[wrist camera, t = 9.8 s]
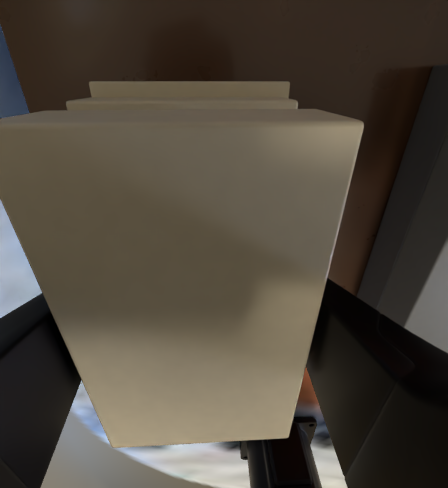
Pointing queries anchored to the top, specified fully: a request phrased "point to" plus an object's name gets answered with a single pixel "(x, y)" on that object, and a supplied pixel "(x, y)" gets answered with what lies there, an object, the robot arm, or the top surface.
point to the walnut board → (252, 70)
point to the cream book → (182, 257)
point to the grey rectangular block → (416, 227)
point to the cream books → (185, 95)
